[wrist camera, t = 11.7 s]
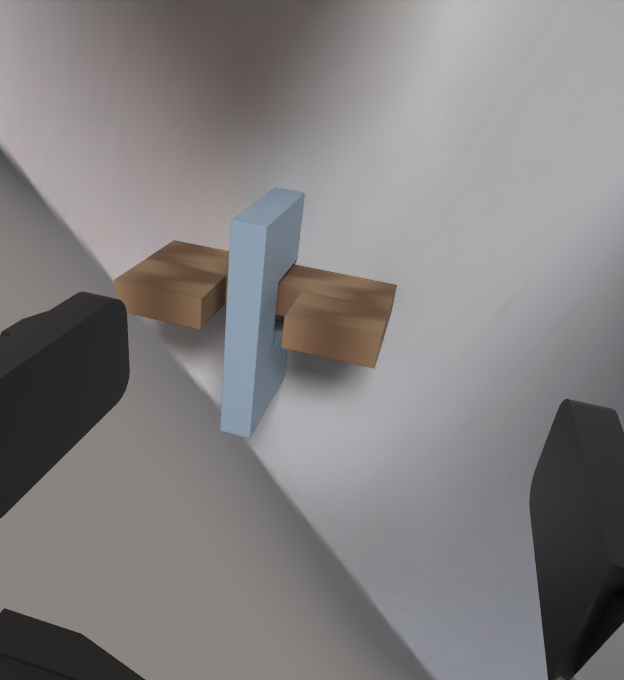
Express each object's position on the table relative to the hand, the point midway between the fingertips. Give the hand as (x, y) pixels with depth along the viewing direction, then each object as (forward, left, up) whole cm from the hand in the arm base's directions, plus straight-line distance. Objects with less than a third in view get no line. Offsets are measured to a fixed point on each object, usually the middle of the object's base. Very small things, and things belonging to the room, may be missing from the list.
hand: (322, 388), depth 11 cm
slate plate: (+8, +11, -28) cm, 31 cm away
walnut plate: (+8, +10, -28) cm, 31 cm away
